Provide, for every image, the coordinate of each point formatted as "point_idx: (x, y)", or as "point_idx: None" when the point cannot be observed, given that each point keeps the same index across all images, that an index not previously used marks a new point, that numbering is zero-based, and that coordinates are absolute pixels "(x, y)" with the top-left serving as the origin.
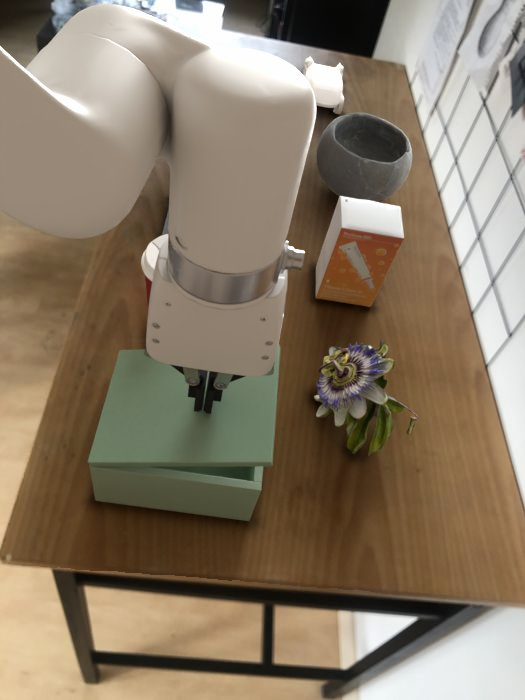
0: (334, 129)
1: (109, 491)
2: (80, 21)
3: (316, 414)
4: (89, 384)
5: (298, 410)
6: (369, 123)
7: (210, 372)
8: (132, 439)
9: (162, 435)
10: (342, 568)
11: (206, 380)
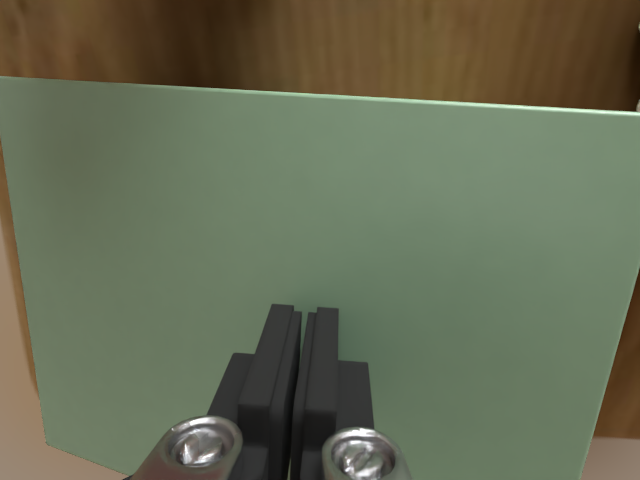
0: None
1: None
2: None
3: (638, 105)
4: (41, 60)
5: (581, 74)
6: None
7: (296, 465)
8: (123, 421)
9: None
10: (603, 418)
11: (297, 334)
